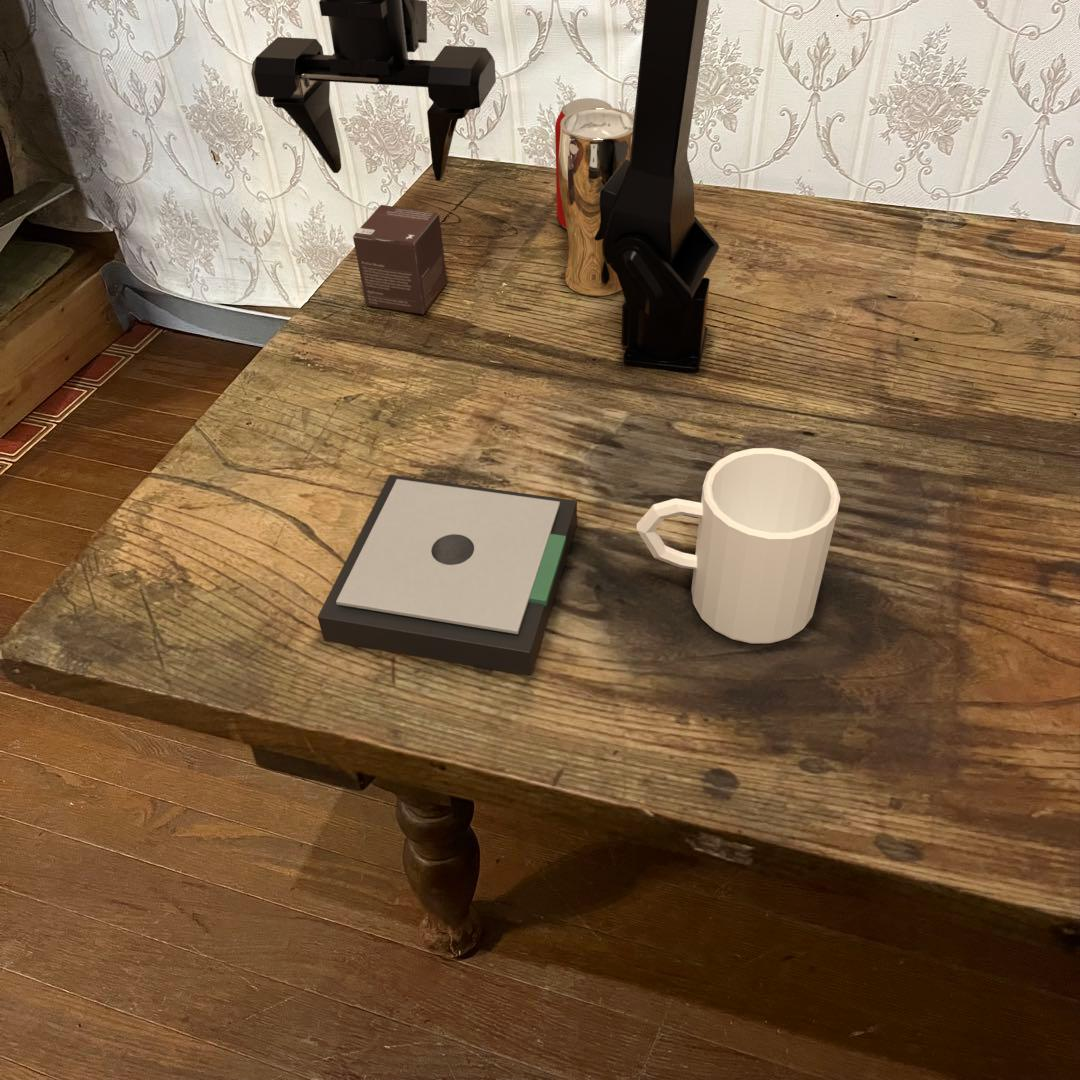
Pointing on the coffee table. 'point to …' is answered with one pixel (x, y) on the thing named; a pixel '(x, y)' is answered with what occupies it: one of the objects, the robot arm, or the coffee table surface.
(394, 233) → the box
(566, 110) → the beverage can
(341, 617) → the scale
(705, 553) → the mug
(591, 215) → the beer glass
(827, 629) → the coffee table surface
